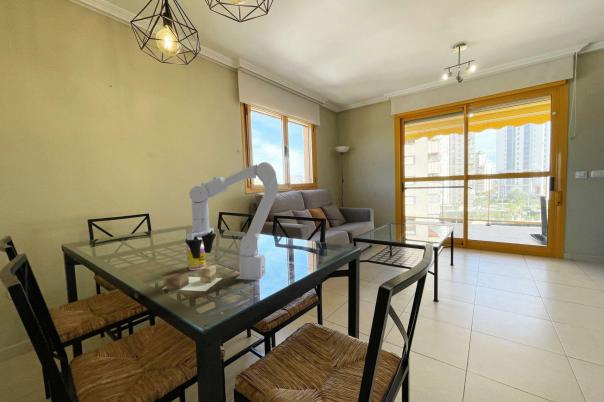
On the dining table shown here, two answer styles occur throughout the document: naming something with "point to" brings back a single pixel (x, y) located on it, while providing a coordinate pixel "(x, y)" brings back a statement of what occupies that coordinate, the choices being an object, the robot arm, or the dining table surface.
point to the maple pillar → (207, 274)
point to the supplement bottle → (197, 263)
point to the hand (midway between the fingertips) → (202, 255)
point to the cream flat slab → (197, 284)
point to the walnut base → (177, 281)
